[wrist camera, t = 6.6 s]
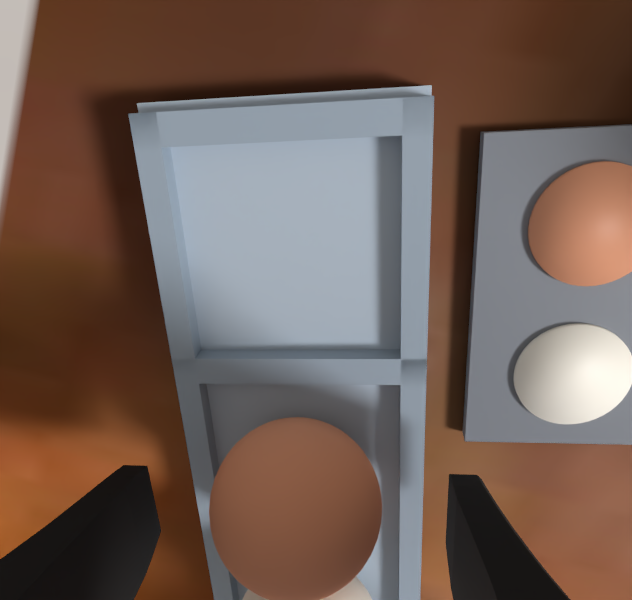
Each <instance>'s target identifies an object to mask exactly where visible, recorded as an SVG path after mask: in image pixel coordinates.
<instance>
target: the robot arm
mask: <svg viewBox="0 0 632 600" xmlns="http://www.w3.org/2000/svg"><path fill="white" fill-rule="evenodd" d="M160 532H161V528H160V524H159V519H158V514H157V510H156V505H155V500H154V496H153V491H152V486H151V482H150V477H149V472H148V468H147V466H131V465H123V466H122V467H121V468H119V469H118V470H116V471H115V472H114V473H112V474H111V475H110V476H109V477H107V478H106V479H105V480H104V481H102V482H101V483H100V484H98V485H97V486H96V487H95V488H94V489H92V490H91V491H90V492H89V493H87V494H86V495H85V496H84V497H82V498H81V499H80V500H79V501H77V502H76V503H75V504H73V505H72V506H71V507H70V508H68V509H67V510H66V511H65V512H63V513H62V514H61V515H59V516H58V517H57V518H56V519H54V520H53V521H52V522H51V523H49V524H48V525H47V526H45V527H44V528H43V529H41V530H40V531H39V532H37V533H36V534H34V535H33V536H32V537H30V538H29V539H28V540H26V541H25V542H24V543H22V544H21V545H19V546H18V547H17V548H15V549H14V550H13V551H11V552H10V553H9V554H7V555H6V556H4V557H3V558H2V559H0V600H134V598H135V596H136V594H137V592H138V590H139V588H140V585H141V583H142V581H143V579H144V577H145V575H146V573H147V570H148V567H149V564H150V562H151V559H152V556H153V553H154V550H155V547H156V544H157V541H158V538H159V535H160ZM446 549H447V558H448V566H449V574H450V582H451V590H452V594H453V599H454V600H570V599H569V598H568V596H567V595H566V594H565V593H564V592H563V591H562V589H561V588H560V587H559V586H558V585H557V583H556V582H555V581H554V580H553V579H552V578H551V576H550V575H549V574H548V573H547V572H546V570H545V569H544V568H543V567H542V565H541V564H540V563H539V562H538V560H537V559H536V558H535V556H534V555H533V554H532V552H531V551H530V550H529V549H528V547H527V546H526V545H525V543H524V542H523V541H522V539H521V538H520V537H519V535H518V534H517V533H516V531H515V530H514V528H513V527H512V526H511V524H510V523H509V521H508V520H507V518H506V517H505V515H504V514H503V513H502V511H501V510H500V508H499V507H498V505H497V504H496V502H495V501H494V499H493V497H492V496H491V494H490V493H489V491H488V489H487V488H486V486H485V484H484V483H483V481H482V479H481V478H480V477H479V476H477V475H459V474H449V489H448V509H447V529H446Z"/></svg>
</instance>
